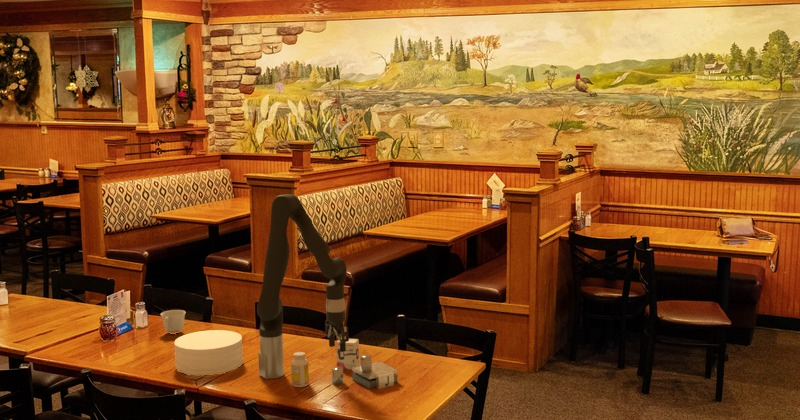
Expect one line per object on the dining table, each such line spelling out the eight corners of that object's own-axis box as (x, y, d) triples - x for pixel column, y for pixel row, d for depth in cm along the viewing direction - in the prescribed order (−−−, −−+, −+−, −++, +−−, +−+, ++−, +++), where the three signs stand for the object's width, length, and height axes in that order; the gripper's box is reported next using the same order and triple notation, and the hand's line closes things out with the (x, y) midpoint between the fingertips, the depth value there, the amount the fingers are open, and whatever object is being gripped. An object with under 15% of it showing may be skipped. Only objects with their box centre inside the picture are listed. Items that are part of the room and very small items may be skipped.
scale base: (372, 390, 325) (372, 378, 325) (352, 380, 338) (352, 368, 337) (400, 383, 332) (400, 371, 332) (379, 373, 345) (379, 361, 344)
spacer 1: (335, 385, 332) (335, 371, 331) (330, 382, 335) (329, 368, 334) (345, 383, 334) (345, 368, 333) (339, 380, 338) (339, 366, 337)
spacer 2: (364, 373, 330) (363, 358, 329) (358, 370, 334) (358, 355, 333) (373, 371, 332) (373, 356, 332) (367, 368, 336) (367, 353, 335)
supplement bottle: (306, 381, 337) (305, 350, 336) (310, 386, 331) (309, 355, 329) (290, 383, 335) (289, 352, 333) (293, 388, 329) (292, 357, 327)
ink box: (336, 368, 352) (335, 341, 351) (340, 364, 357) (340, 337, 355) (355, 370, 350) (355, 342, 348) (359, 366, 354) (359, 339, 353)
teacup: (154, 338, 400) (153, 317, 398) (168, 329, 414) (166, 309, 413) (178, 338, 398) (177, 318, 396) (191, 329, 412) (190, 310, 411)
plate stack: (162, 366, 359) (161, 340, 357) (217, 351, 379) (216, 326, 377) (200, 381, 340) (199, 353, 338) (256, 364, 360) (255, 338, 358)
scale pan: (369, 381, 327) (369, 376, 326) (352, 372, 337) (352, 367, 337) (397, 375, 334) (397, 370, 334) (379, 366, 345) (379, 361, 344)
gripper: (318, 307, 334) (320, 346, 337) (336, 314, 323) (338, 355, 325) (335, 303, 338) (336, 342, 341) (353, 311, 327) (354, 351, 329)
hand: (337, 348), depth 333 cm, fingers open, 8 cm apart
